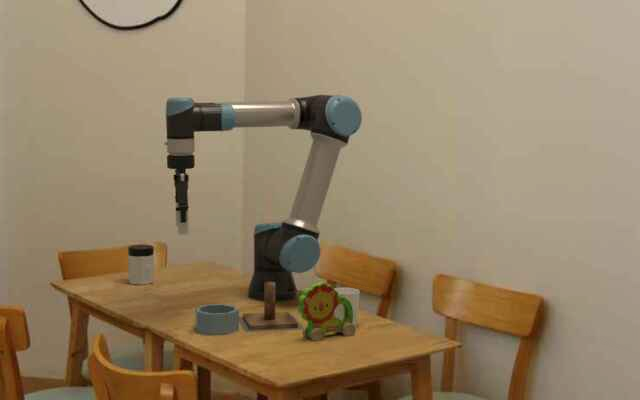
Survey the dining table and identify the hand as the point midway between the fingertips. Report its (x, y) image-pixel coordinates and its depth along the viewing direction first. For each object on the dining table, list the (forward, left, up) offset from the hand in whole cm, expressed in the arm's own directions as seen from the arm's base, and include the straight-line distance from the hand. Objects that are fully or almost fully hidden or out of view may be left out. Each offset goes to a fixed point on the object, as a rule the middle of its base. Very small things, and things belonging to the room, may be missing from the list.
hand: (182, 230), depth 266 cm
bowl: (-8, +16, -25) cm, 30 cm away
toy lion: (-35, +28, -25) cm, 51 cm away
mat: (-23, +11, -25) cm, 36 cm away
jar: (+9, -48, -25) cm, 55 cm away
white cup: (-43, +17, -25) cm, 52 cm away
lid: (-23, +12, -25) cm, 35 cm away
